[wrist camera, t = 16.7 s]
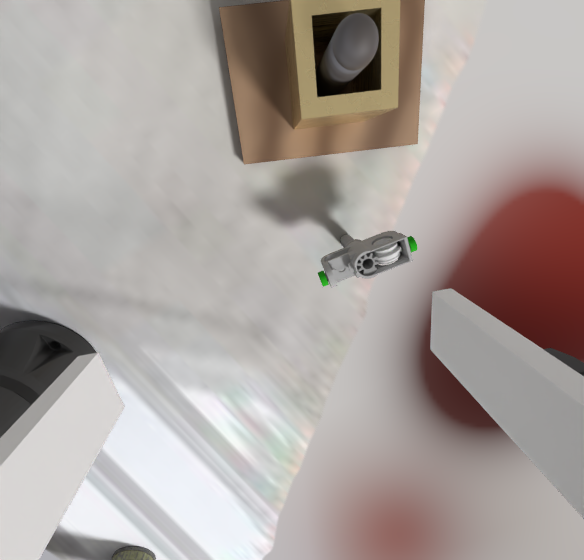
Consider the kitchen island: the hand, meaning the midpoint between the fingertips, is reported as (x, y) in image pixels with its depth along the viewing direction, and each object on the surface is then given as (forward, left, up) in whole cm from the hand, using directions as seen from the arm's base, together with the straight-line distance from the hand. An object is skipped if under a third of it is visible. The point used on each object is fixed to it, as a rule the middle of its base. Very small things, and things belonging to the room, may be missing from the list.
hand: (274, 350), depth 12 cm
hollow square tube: (+8, +14, -26) cm, 31 cm away
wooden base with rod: (+8, +14, -28) cm, 32 cm away
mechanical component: (+9, -4, -28) cm, 30 cm away
